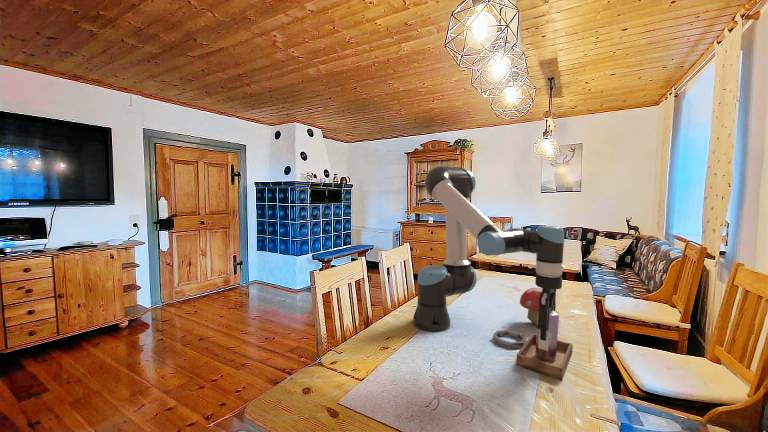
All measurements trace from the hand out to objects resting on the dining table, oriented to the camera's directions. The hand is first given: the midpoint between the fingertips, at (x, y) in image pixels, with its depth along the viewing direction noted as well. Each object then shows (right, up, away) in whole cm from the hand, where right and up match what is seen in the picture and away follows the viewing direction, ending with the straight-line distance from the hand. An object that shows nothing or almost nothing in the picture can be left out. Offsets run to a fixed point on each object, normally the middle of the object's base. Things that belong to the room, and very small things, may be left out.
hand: (545, 344), depth 102 cm
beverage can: (0, -4, 0) cm, 4 cm away
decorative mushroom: (+11, -3, +29) cm, 31 cm away
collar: (-7, -4, +13) cm, 15 cm away
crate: (0, -5, 0) cm, 5 cm away
